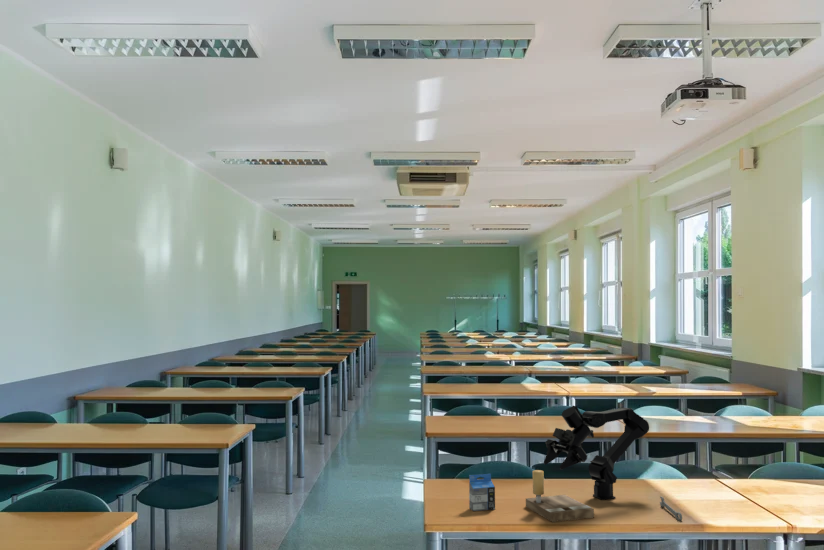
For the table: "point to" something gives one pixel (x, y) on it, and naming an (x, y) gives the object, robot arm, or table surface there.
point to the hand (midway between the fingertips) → (552, 466)
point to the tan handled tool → (538, 484)
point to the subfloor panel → (560, 508)
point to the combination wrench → (670, 509)
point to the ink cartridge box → (481, 492)
